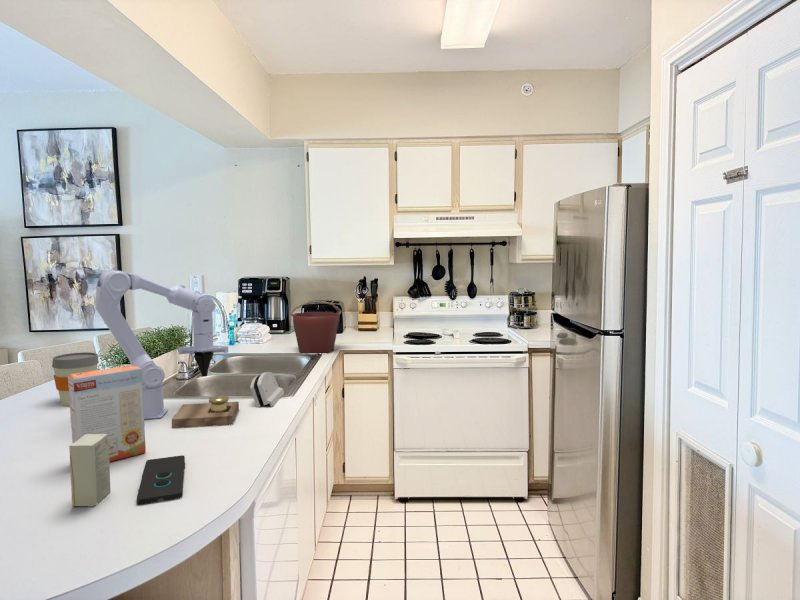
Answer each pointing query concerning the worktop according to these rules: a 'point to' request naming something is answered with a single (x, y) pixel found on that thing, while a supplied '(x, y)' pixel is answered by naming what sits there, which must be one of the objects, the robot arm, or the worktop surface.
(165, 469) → the smart home device
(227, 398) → the bushing
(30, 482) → the worktop surface
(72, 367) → the reusable coffee cup
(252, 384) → the grey piece
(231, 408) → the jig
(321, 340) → the bucket
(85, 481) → the skincare box
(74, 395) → the cracker box
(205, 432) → the worktop surface
